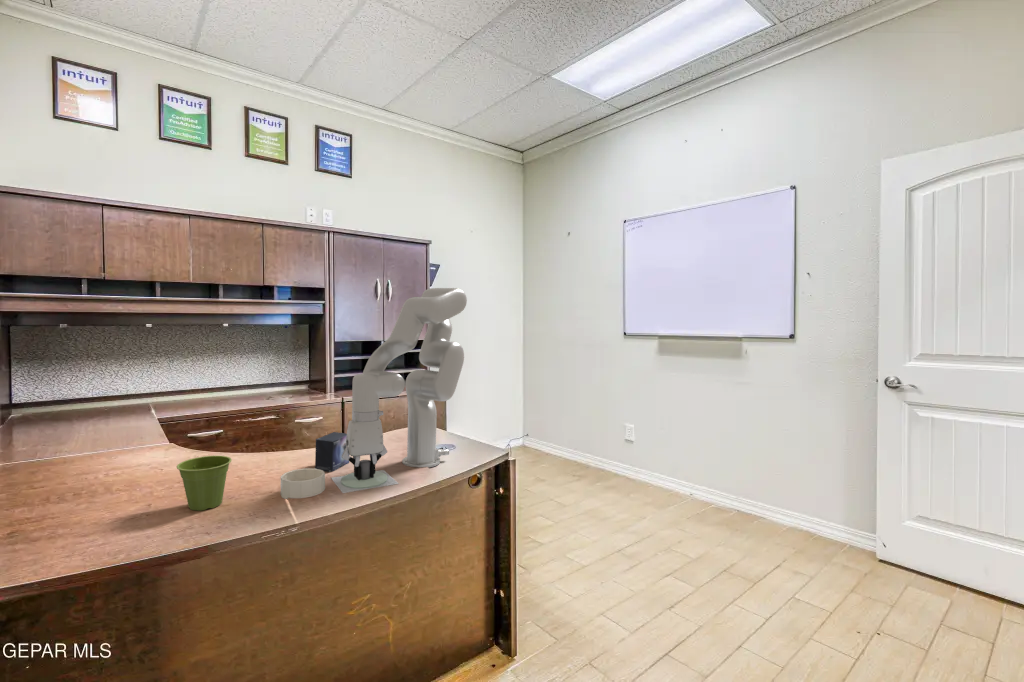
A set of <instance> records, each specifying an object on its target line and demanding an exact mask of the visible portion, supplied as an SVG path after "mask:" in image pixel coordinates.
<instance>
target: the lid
mask: <svg viewBox="0 0 1024 682" xmlns="http://www.w3.org/2000/svg"><path fill="white" fill-rule="evenodd" d="M359 464H360V466H361V479H360V480H358V479H357V478H356V477H355V476H354V472H351V473H348V474H346V475H343V476H344V477H343V478H342V479H341V483H342V485H344V486H346V487H349V488H371V487H376V486H379V485H382V484H384V483H385V482H386V481H387V475H386V474H384V473H382V472H378V471H379V470H375V474H374V478H371V477H370V460H369V459H362V460H361V459H360V462H359ZM371 489H372V488H371Z"/></svg>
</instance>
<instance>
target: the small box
mask: <svg viewBox="0 0 1024 682" xmlns="http://www.w3.org/2000/svg"><path fill="white" fill-rule="evenodd" d="M346 437H347V432H346V433H345V432H344V433H343V432H339V431H337V432H336V431H333V432H331V433H328V434H325V435H323V436H320V437H318V438H316V439H315V452H314V453H315V457H314V458H315V461H314V469H319V470H323V471H324V473H326V472H327V473H333V472H335V471H337V470H339V469H341V468H343V467H344V466H346V465H348V464H349V463H350V461H347V460H345V459H343V458H342V457H341V456H342V454H343V452H344V450H345V449H346ZM348 456H350V455H349V454H348Z"/></svg>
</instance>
